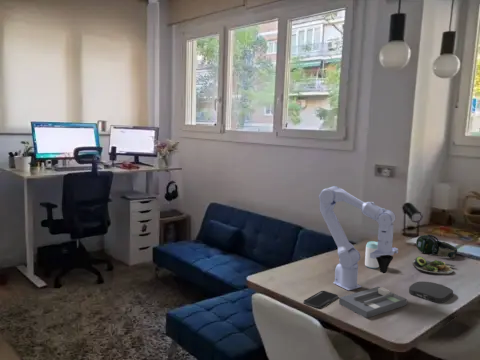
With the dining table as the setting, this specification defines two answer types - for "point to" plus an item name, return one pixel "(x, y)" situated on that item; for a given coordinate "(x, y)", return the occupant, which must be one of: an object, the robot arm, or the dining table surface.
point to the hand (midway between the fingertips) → (383, 272)
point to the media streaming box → (431, 291)
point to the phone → (320, 299)
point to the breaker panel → (372, 302)
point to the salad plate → (431, 266)
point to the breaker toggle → (383, 291)
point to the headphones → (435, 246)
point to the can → (369, 261)
